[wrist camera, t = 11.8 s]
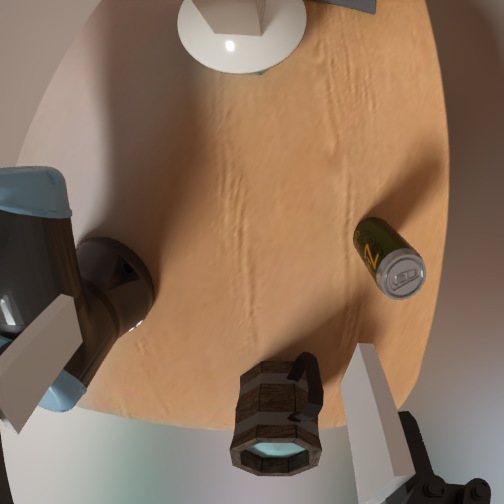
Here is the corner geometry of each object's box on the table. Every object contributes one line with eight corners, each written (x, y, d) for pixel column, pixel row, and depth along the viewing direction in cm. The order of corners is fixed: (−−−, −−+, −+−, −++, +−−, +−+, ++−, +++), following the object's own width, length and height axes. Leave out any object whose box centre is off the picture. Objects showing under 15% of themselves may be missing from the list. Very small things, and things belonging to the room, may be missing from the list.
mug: (295, 415, 53) (296, 481, 39) (228, 398, 52) (216, 466, 38) (348, 345, 45) (368, 420, 31) (269, 320, 44) (265, 399, 30)
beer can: (384, 209, 36) (424, 244, 25) (393, 246, 38) (431, 290, 27) (346, 224, 38) (373, 264, 27) (357, 260, 39) (384, 309, 28)
